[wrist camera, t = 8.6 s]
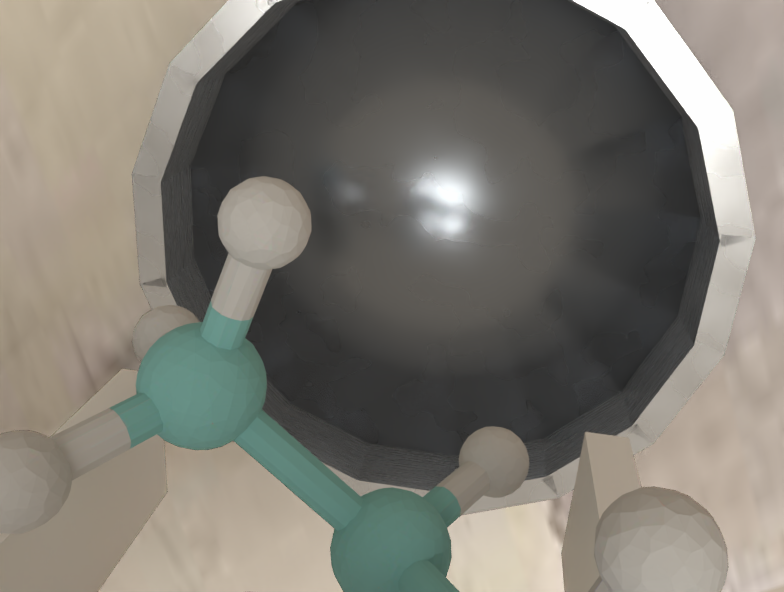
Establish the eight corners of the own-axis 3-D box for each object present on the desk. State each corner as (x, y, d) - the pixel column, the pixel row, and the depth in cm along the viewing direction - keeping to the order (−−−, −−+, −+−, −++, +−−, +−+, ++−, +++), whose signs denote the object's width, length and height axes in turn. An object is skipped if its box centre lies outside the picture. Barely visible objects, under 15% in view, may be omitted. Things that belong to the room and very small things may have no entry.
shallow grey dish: (192, 418, 33) (153, 471, 29) (169, -83, 25) (111, -97, 22) (653, 483, 31) (672, 549, 27) (782, -46, 23) (834, -53, 19)
